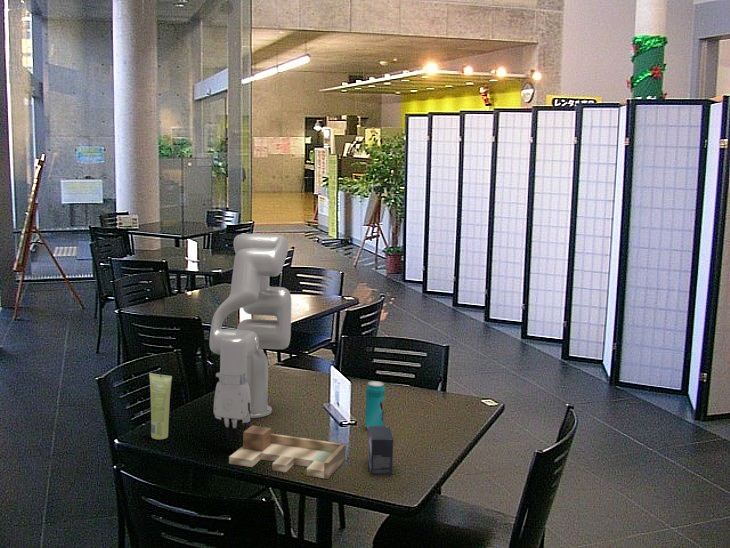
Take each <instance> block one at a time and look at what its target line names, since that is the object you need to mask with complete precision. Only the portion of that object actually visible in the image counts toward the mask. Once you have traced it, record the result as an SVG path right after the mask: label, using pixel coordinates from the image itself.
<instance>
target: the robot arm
mask: <svg viewBox="0 0 730 548" xmlns="http://www.w3.org/2000/svg"><path fill="white" fill-rule="evenodd" d="M233 248H234V249H233V250H234V252H235V256H234V262H233V268H232V269H233V270H232V277H231V286H230V294H229V295H228V297H227V298H226V299H225V300H224V301H223V302H222V303H221V304H219V306H218V307H217V309H216V310H215V312H214V314H213V317H212V318H211V324H210V325H211V326H210V332H209V341H208V342H209V349H210V351H211V352H212V353H213V354H215V355H216V354H217V355H219V356H220V357H219V360H220V363H219V364H220V365H219V372H216V373H215V378H218V382H216V386H215V392H214V398H213V415H214V418H215V419H217V420H220V421H221V422H222V423H223V424H224V426H225V428H226V437H227V441H231V442H234V441H235V440H237V439H238V437H239V426H241V424H245V423H249V422H250V421H251V419H255V418H257V419H258V418H263V417H267V416H269V415H271V414H272V413H273V408H272V406H270V405H268V400H269V398H268V396H269V395H268V390H269V389H268V387H269V360H268V357H267V355H266V353H265V352H264V351H263V349H264V350H265V349H267V350H285V349H287V348H288V347H289V345H290V343H291V336H292V335H291V333H292V331H291V330H292V295H291V292H290V290H289V289H287V288H286V287H281V286H270V277H277V276H279V275H280V274H281V273H282V270H283V267H284V265H285V262H286V259H287V256H288V251H289V243H288V240H287V238H286V237H285V236H284V235H280V234H266V233H265V234H264V233H241V234H237V235H236V236H235V237H234V239H233ZM239 309H242V310H243V311H244V312H245V313H246V314H248V315H254V316H269V317H273V316H274V317H275V318H276V319H264V318H247V319H243V320H241V321H240V322H239V323H238V325H237V328H236V329H234V328H233V329H232V328H222V327H223V322H225V319H226V318H227V317H228V316H229V315H230V314H232V313H233V312H235V311H237V310H239Z"/></svg>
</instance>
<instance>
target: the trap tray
mask: <svg viewBox="0 0 730 548" xmlns="http://www.w3.org/2000/svg"><path fill="white" fill-rule="evenodd" d="M346 448H347V444H346V443H339V442H333V441H326V440H318V439H313V438H305V437H300V436H299V437H297V436H291V435H283V434H278V433H277V434H276V433H271V445H270V446H268V447H267V448H266V449H265V450H264V451H263V452H262V451H255V450H248V449H243V445H242V446H241V447H240V448H238V449H237V450H236V451H234V452H233V453H232V454H230V455H229V456H228V464H229V465H235V466H236V465H237V466H241V467H242V466H243V467H249V468H253V467H254V466H255V465H256V464H257V463H259V462H260V461H261V460H262V461H269V462H272V464H271V465H272V467H271V468H272V471H274V472H281V473H287V472H288V471H289V470H290V469H291V468H292V467H293V466H294V465H295V466H302V467H307V468H306V475H305V476H306V477H313V478H318V479H319V478H321V479H326V480H328V479H330V478H331V476H332V475H333V474H334V473H335V472H336V470H338V468H339V467H340V466H341V465H342V463H344V461H345V460H346V452H347V451H346Z"/></svg>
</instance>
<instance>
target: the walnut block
mask: <svg viewBox="0 0 730 548" xmlns="http://www.w3.org/2000/svg"><path fill="white" fill-rule="evenodd" d="M271 434H272V428H271V427H266V426H258V425H251V426H250V427H248V428H247V429H245V430H244V431H243V432H242V435H243V438H242V439H243V441H242V446H243V449H248V450H255V451H262V452H263V451H264V450H265V449H266V448H267V447H268V446H270V445H271Z"/></svg>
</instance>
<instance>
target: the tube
mask: <svg viewBox="0 0 730 548" xmlns="http://www.w3.org/2000/svg"><path fill="white" fill-rule="evenodd" d="M148 376H149V390H150V391H149V392H150V424H151V425H150V426H151V427H150V436H151V438H152V439H154V440H164V439H167V438H168V437H169V420H170V419H169V418H170V402H171V401H170V399H171V390H172V389H171V388H172V381H173V376H172V375H166V374H165V375H164V374H157V373H150V372H149V374H148Z"/></svg>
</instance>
